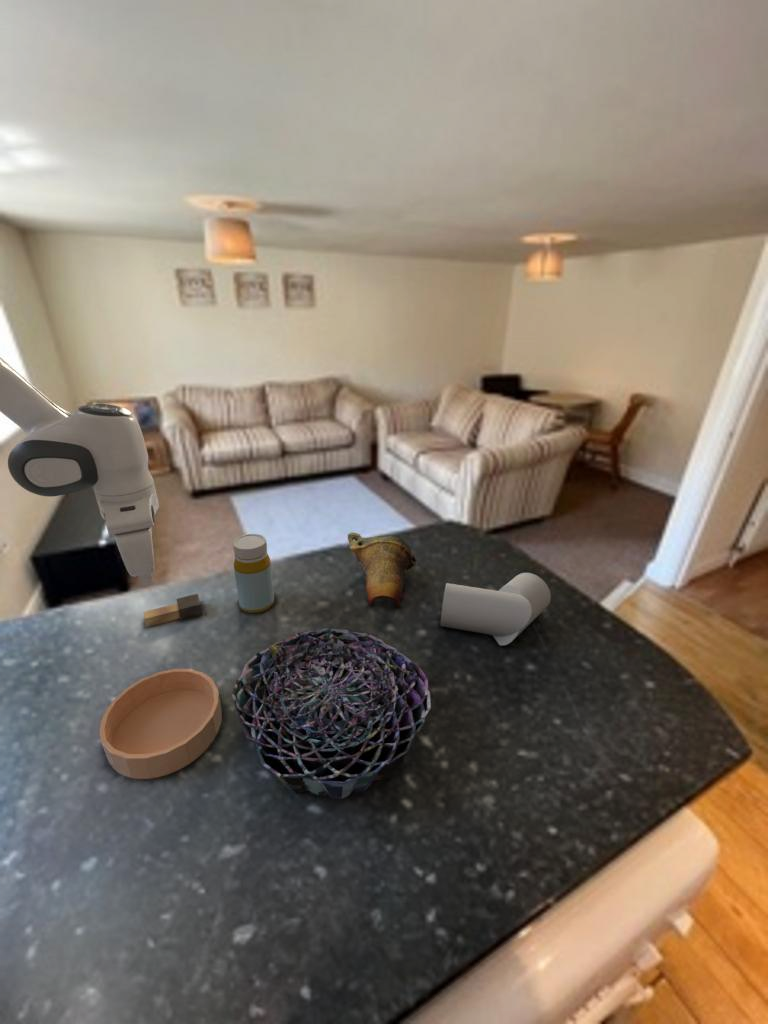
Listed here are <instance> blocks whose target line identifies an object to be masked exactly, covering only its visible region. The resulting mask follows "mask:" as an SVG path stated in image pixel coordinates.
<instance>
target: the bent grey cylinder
mask: <svg viewBox="0 0 768 1024" xmlns="http://www.w3.org/2000/svg"><path fill="white" fill-rule="evenodd" d="M551 599H552V593H551V590H550V588H549V586H548V584H547V583H546V582H545V581H544V580H543V579H542V578H541V577H540V576H538V575H536V574H534V573H531V572H521V573H519V574H517V575H515V576H514V577H513V578H512V579H510V581H509V582H507V583H506V584H505V585H503V586H502V587H501V588H499V589H498V590H495V589H488V588H482V587H475V586H468V585H461V584H455V583H449V582H446V583H445V588H444V593H443V599H442V605H441V614H440V615H441V616H440V627H442V628H443V627H444V628H449V629H454V630H461V631H465V632H471V633H472V632H473V633H477V634H483V635H489V636H492V637H493V638H494V640H495V641H496V642H497V644H498V646H507V645H509V644H511V643H512V642H513V641H514V640H515V639H516V638H517V637H518V636H520V634H521V633H522V632H523V631H524V630H525V629H526V628H527V627H528V626H529V625H530V624H531V623H532V622H533V621H535V619H536V618H537V617H538V616H539V615H540V614H542V613H543V612H544V611H545V609H546V608H548V606H549V605H550V604H551Z"/></svg>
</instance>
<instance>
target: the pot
mask: <svg viewBox="0 0 768 1024" xmlns="http://www.w3.org/2000/svg"><path fill="white" fill-rule="evenodd" d="M347 541H348V544H349V548H350V549H351V551H352V554H353V555H354V557H355V559H356V561H357V562H358V563H359V564H361V566H362V568H363V571H364V573H365V576H366V577H365V582H366V586H365V587H366V594H367V599H368V602H369V606H372V602H373V600H374V599H376V598H377V597H389V598H391V599H393V600H395V601H396V605H395V606H396V608H399V603H400V600H401V598H402V596H403V588H404V573H405V572H409V571H410V570H411V569H412V568H414V567H416V566H417V565H418V563H417V558H416V557H415V556H414V555H413V554H412V549H411V547H410V546H409V544H408V543H407V542H406V541H405V540H404V539H403V538H401V537H398V536H395V535H394V536H393V535H377V536H373V537H362V536H361V534H360V533H357V532H350V533H348V534H347Z"/></svg>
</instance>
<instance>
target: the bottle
mask: <svg viewBox="0 0 768 1024" xmlns="http://www.w3.org/2000/svg"><path fill="white" fill-rule="evenodd" d="M232 545H233V554H234V561H233V570H234V571H233V572H234V577H235V586H236V592H237V597H238V599H237V600H238V604H239V608H240V609H241V610H242V611H244V612H246V613H249V614H256V613H257V614H258V613H262V612H264V611H267V610H268V609H270V608H271V607H272V606H273V605H274V604H275V603H274V602H275V592H274V582H273V581H274V580H273V573H272V572H273V571H272V563H271V558H270V556H269V554H268V544H267V539H266V537H265V536H264V535H262V534H260V533H246V534H243V535H240V536H238V537H236V538H235V539H234V540H233V543H232Z"/></svg>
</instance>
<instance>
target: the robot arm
mask: <svg viewBox="0 0 768 1024" xmlns="http://www.w3.org/2000/svg"><path fill="white" fill-rule="evenodd" d="M0 413H2V415H4V416H5V417H6V418H7V419H9V420H10V421H12V422H13V423H14V424H15V425H17V426H18V427H19V428H20V429H21V430H23V432H24V433H25V435H26V436H25V437H24V438H22V439H21V440H20V441H19V442H17V444H15V445H14V447H13V448H12V450H11V451H10V452H9V454H8V458H7V468H8V471H9V474H10V476H11V477H12V479H13V480H14V481H15V483H17V485H19V487H21V488H23V489H24V490H25V491H28V492H29V493H32V494H34V495H37V496H41V497H58V496H64V495H68V494H73V493H77V492H80V491H83V490H86V489H89V488H92V489H93V491H94V495H95V499H96V503H97V506H98V510H99V512H100V516H101V518H102V519H103V520H104V522H105V526H106V530H107V533H108V535H110V536H111V535H113V537H114V541H115V544H116V547H117V550H118V551H119V554H120V557H121V559H122V562H123V565H124V567H125V569H126V571H127V573H128V574H129V575H130V577H138V579H139V581H140V585H141V587H143V588H145V587H149V586H152V585H153V584H154V580H153V576H152V573H154V571H155V555H154V544H153V527H154V526H155V518H156V514H157V511H158V510H159V509H160V502H159V498H158V494H157V489H156V484H155V481H154V477H153V476H152V473H151V472H150V469H149V453H148V449H147V445H146V441H145V437H144V435H143V431H142V428H141V426H140V424H139V421H138V419H137V417H136V416H135V415H134V414H133V412H131V411H130V410H128V409H127V408H125V407H121V406H120V405H115V404H109V403H94V404H93V403H91V404H89V403H88V404H85V405H80V406H79V407H78V408H77V409H76V410H75V411H73V413H72V412H70V411H68V410H66V409H64V408H62V407H61V406H59V405H58V404H56V403H55V402H54V401H52V400H51V399H50V398H49V397H47V396H46V395H45V394H44V393H43V392H42V391H41V390H39V389H38V387H36V386H35V385H34V384H32V382H30V381H29V380H28V379H27V378H25V376H24V375H22V374H21V373H20V372H19V371H18V370H17V369H15V368H14V367H13V366H12V365H10V363H8V362H7V361H6V360H5V359H3V357H1V356H0Z"/></svg>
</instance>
